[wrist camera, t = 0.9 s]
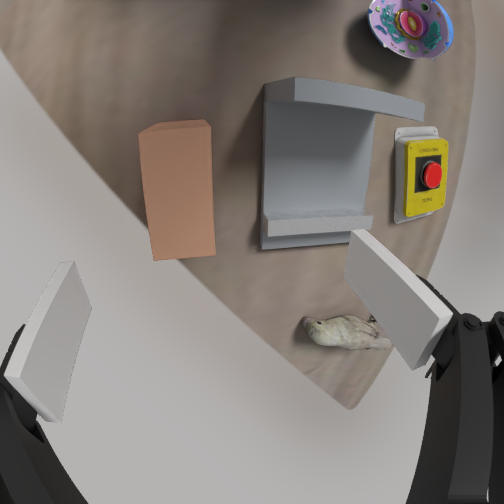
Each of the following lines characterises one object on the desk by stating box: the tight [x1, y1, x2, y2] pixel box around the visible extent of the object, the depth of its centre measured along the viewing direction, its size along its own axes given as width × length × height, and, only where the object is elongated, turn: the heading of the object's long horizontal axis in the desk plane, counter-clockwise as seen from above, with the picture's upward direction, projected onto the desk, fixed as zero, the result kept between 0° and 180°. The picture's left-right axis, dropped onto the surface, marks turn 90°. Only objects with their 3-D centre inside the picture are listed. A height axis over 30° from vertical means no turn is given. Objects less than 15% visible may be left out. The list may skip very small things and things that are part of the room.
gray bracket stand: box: [260, 77, 425, 250], centre depth 29 cm, size 20×14×10 cm
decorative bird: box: [303, 315, 392, 351], centre depth 45 cm, size 5×16×8 cm, turn 73°
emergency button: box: [394, 127, 448, 224], centre depth 35 cm, size 9×4×15 cm
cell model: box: [367, 0, 454, 61], centre depth 21 cm, size 10×12×10 cm
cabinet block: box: [138, 119, 216, 261], centre depth 25 cm, size 11×5×12 cm, turn 179°
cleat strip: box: [263, 209, 373, 237], centre depth 34 cm, size 2×14×2 cm, turn 89°
